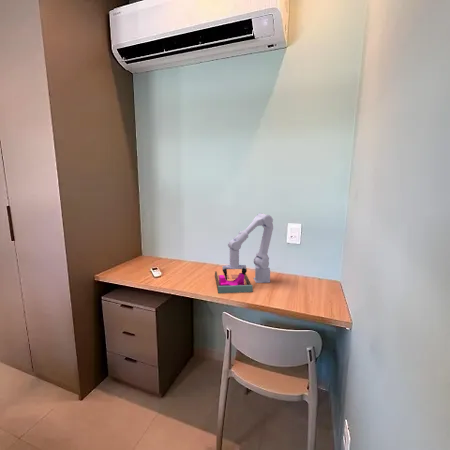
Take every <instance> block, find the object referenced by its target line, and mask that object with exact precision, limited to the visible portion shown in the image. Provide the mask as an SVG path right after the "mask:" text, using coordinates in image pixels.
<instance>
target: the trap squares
mask: <svg viewBox="0 0 450 450" xmlns="http://www.w3.org/2000/svg"><path fill="white" fill-rule="evenodd" d="M217 275H218V278H219V275H220V274H217ZM223 275H224V274H223ZM238 276H239V274H231V275H230V276H229V274H227V280H229V279H230V277H231V279H233V280H234V279H236V278H237V277H238ZM224 277H225V275H224ZM225 279H226V278H225Z"/></svg>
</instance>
